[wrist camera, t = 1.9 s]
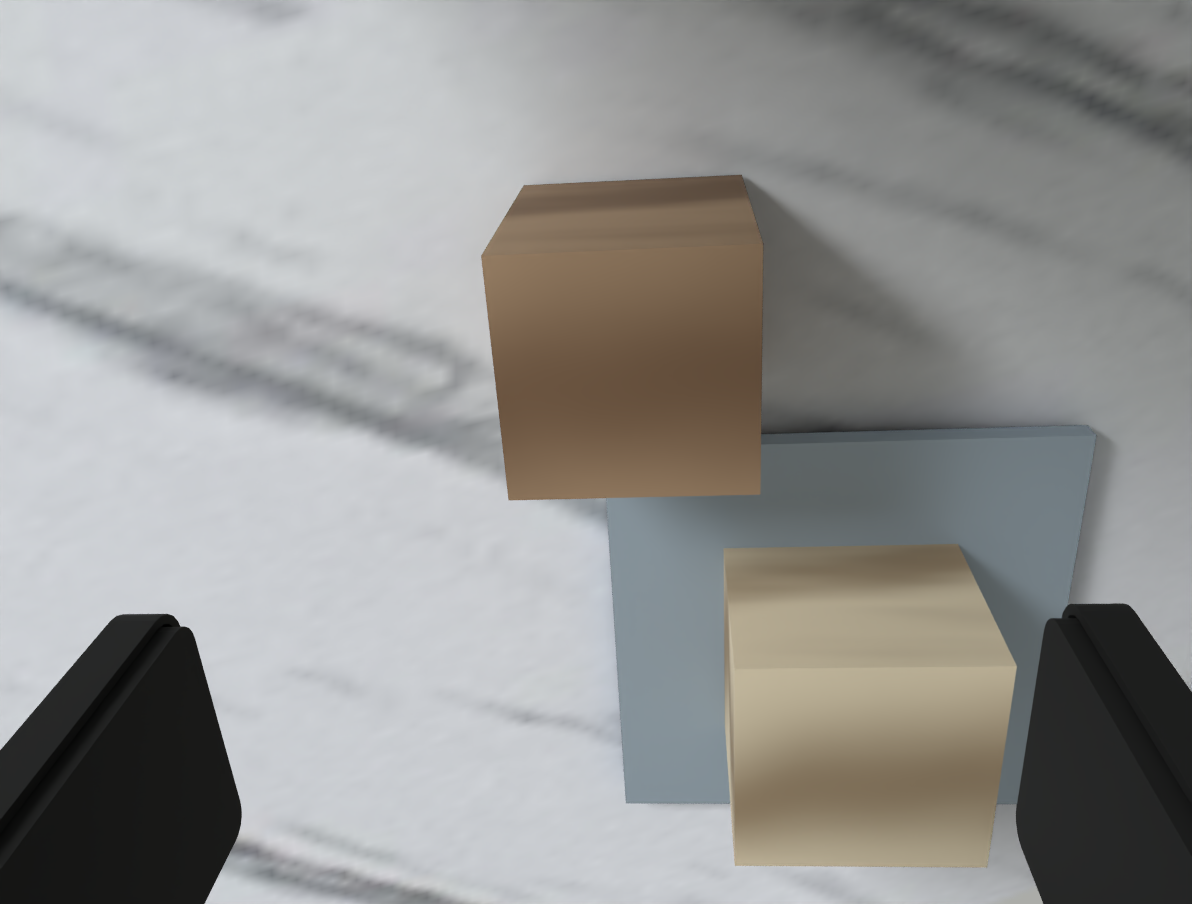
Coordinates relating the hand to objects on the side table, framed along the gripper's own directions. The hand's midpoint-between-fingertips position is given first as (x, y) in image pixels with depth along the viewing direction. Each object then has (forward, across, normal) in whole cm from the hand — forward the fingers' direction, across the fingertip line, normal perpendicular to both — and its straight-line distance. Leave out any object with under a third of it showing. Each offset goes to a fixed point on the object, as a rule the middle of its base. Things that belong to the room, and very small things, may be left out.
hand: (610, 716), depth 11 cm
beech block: (+14, -5, +10) cm, 18 cm away
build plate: (+15, -5, +10) cm, 18 cm away
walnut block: (+15, 0, 0) cm, 15 cm away
